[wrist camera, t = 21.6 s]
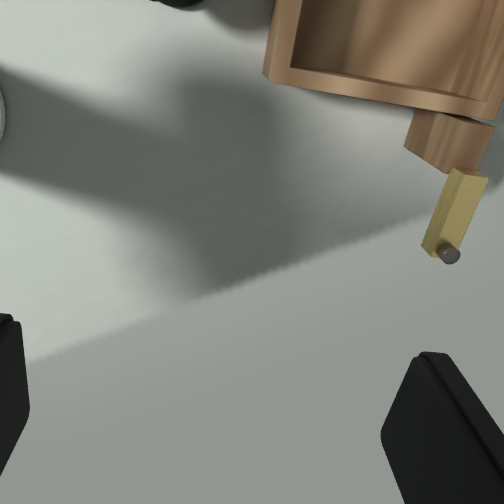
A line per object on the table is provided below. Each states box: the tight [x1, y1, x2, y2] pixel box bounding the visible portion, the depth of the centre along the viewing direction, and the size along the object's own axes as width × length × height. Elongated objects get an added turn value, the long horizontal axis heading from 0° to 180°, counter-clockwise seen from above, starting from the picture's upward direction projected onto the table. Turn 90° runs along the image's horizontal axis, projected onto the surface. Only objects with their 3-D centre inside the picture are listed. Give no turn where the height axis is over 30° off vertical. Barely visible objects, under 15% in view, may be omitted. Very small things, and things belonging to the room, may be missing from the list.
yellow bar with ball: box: [421, 167, 489, 264], centre depth 33 cm, size 2×7×3 cm, turn 171°
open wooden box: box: [262, 0, 504, 174], centre depth 32 cm, size 18×17×8 cm
